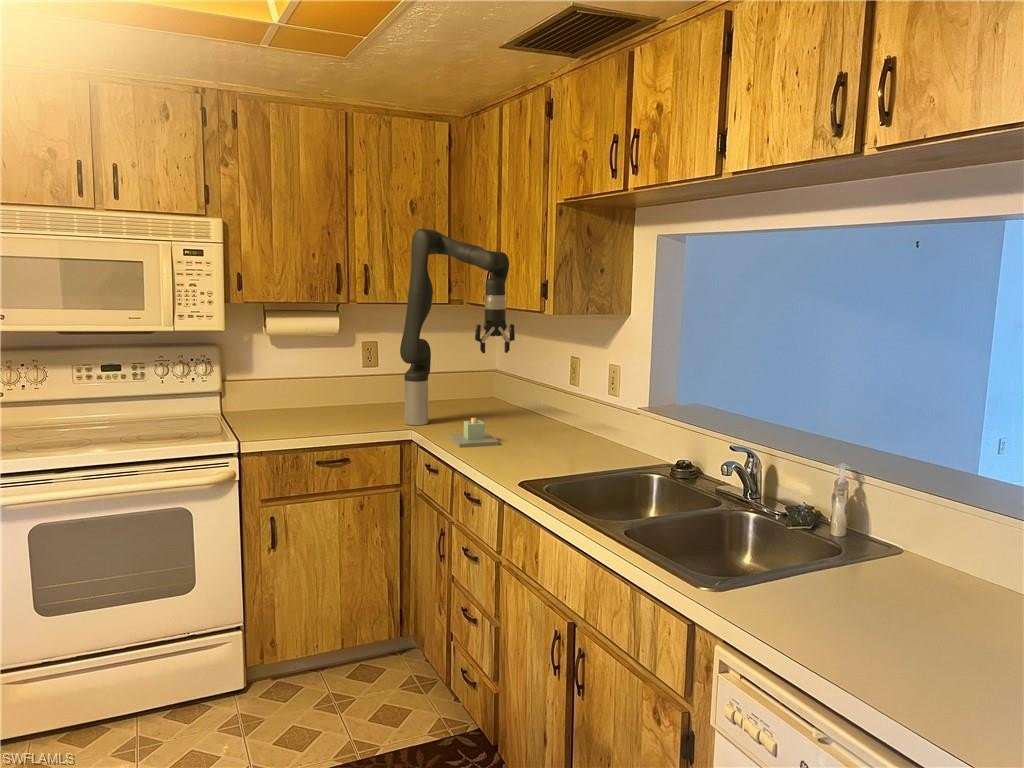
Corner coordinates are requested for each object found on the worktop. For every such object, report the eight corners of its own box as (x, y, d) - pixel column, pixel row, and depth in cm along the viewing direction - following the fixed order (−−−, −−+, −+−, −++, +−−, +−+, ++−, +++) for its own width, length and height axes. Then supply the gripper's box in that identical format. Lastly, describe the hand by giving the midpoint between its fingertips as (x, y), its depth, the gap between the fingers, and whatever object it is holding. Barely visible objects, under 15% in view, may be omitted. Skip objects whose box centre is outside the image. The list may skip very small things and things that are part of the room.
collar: (463, 436, 262) (463, 421, 261) (480, 435, 263) (480, 420, 263) (467, 440, 256) (467, 424, 255) (484, 439, 258) (484, 423, 257)
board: (449, 437, 265) (449, 414, 264) (487, 435, 269) (487, 413, 268) (459, 447, 250) (459, 423, 249) (499, 445, 254) (499, 421, 253)
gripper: (511, 307, 270) (510, 351, 272) (473, 307, 266) (473, 352, 268) (517, 308, 263) (516, 353, 265) (478, 308, 259) (478, 354, 261)
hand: (494, 352), depth 267 cm, fingers open, 8 cm apart
